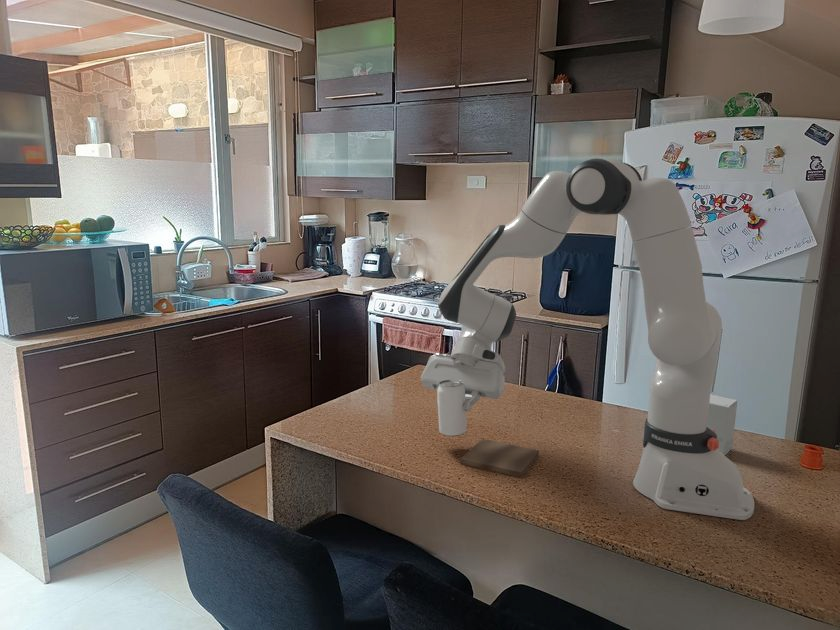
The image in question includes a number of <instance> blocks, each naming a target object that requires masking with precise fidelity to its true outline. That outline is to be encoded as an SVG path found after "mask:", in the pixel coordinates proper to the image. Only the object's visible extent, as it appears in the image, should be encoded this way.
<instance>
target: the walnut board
mask: <svg viewBox="0 0 840 630" xmlns="http://www.w3.org/2000/svg"><path fill="white" fill-rule="evenodd" d="M539 455H540V450H537V449H535V448H534V449H533V448H527V447H523V446H519V445H513V444H509V443H505V442H500V441H496V440H492V439H491V440H490V439H487V438H486V439H485V438H482V439H480V440H479V441H478V442H477V443H476V444H475V445H474V446H472V447H471V449H469V451H467V452H466V453H465V454H464V455H463V456H462V457H461V458H460V464H461V465H466V466H469V465H470V466H469V467H473V466H474V468H478V469H483V470H487V471H491V472H495V473H499V474H504V475H509V476H513V477H516V478H522V477H523V476H524V475H525V474H526V472H527V471H528V470H529V468H531V466H532V465H533V464H534V462H535V461H536V459H538V457H539Z"/></svg>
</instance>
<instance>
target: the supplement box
mask: <svg viewBox="0 0 840 630" xmlns="http://www.w3.org/2000/svg"><path fill="white" fill-rule="evenodd" d="M737 409H738V399H734V398H730V397H723V396H720V395H716V394H710V402H709V411H708V419H707V427H708V428H709V429H711V430H712V431H713V429H714V430H715V432H716V433H715V434H716V435H717V440H718V441H719V447H718V450H719V451H720V452H721V453H722V454H723V455H724V456H725V455H726V454H727V453H728V452H729V451H730V450H731V449H732V450H733V445H734V444H733V442H734V435H735V426H736V425H735V424H736V417H737ZM732 450H731V451H732ZM731 451H730V452H731ZM730 452H729V453H730ZM729 453H728V454H729ZM728 454H727V455H728ZM727 455H726V456H727Z"/></svg>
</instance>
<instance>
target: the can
mask: <svg viewBox="0 0 840 630" xmlns="http://www.w3.org/2000/svg"><path fill="white" fill-rule="evenodd" d="M448 381H450V380H444V381H441V382H439V387H438V396H437V398H438V406H437V414H438V429H439V433H440V434H441V435H443V436H445V437H460V436H462V435H464V434H466V432H467V411H464V409H463V408H462V407H463V405H464V401H466V399H465V388H464V386H463V382H462V381H460V380H458V381H460V382H448Z"/></svg>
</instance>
